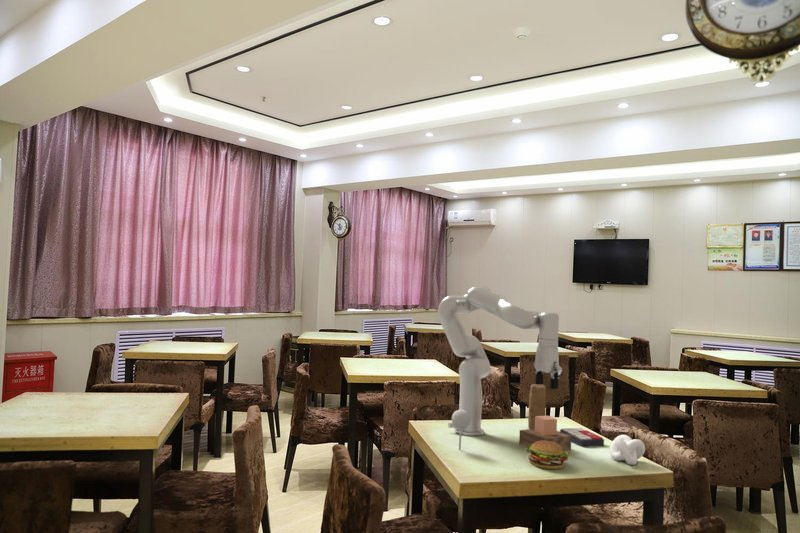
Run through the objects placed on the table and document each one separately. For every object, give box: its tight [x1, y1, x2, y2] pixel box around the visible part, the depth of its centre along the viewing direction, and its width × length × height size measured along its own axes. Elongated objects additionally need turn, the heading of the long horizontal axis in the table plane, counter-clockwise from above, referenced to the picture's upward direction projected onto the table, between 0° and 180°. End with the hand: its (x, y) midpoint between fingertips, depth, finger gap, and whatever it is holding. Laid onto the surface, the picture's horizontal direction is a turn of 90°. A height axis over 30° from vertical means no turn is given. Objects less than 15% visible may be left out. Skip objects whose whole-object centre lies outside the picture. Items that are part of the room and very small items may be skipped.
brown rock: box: [527, 383, 547, 429], centre depth 234 cm, size 11×8×20 cm
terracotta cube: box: [535, 415, 558, 435], centre depth 205 cm, size 6×6×6 cm
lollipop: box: [451, 409, 470, 451], centre depth 196 cm, size 7×7×15 cm
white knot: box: [609, 434, 646, 466], centre depth 192 cm, size 11×12×9 cm
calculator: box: [559, 427, 605, 448], centre depth 217 cm, size 11×4×15 cm
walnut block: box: [518, 428, 572, 452], centre depth 205 cm, size 14×14×6 cm
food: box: [527, 440, 570, 470], centre depth 183 cm, size 14×14×8 cm
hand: (546, 386), depth 206 cm, fingers open, 9 cm apart
